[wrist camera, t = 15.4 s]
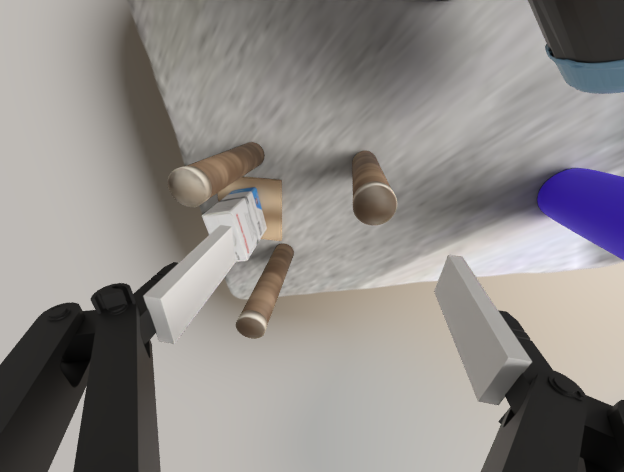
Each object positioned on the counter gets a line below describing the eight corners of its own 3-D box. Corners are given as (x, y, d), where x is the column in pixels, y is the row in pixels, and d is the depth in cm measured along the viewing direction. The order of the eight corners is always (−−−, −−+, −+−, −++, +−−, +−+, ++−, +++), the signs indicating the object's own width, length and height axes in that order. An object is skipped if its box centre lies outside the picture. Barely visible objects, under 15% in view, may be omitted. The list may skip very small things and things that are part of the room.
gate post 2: (353, 149, 41) (355, 182, 23) (379, 151, 40) (401, 186, 23) (350, 174, 43) (350, 223, 25) (374, 176, 42) (392, 227, 25)
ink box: (232, 189, 46) (198, 213, 36) (258, 186, 45) (231, 210, 35) (245, 231, 50) (217, 264, 39) (269, 229, 49) (247, 262, 38)
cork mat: (217, 174, 46) (215, 175, 45) (281, 179, 45) (280, 181, 44) (224, 232, 51) (222, 234, 51) (281, 239, 50) (280, 241, 50)
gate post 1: (240, 141, 43) (163, 166, 25) (264, 142, 42) (203, 169, 25) (242, 165, 44) (172, 205, 27) (265, 167, 44) (208, 208, 27)
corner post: (274, 242, 51) (234, 314, 33) (294, 244, 51) (264, 319, 33) (274, 259, 53) (237, 336, 35) (293, 261, 52) (265, 340, 35)
